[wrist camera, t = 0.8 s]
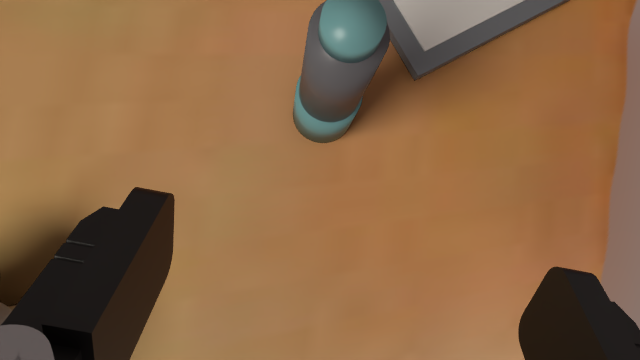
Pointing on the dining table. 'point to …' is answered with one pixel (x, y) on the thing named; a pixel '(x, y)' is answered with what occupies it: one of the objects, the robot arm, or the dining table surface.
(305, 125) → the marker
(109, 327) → the robot arm
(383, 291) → the dining table surface
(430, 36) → the grey flat block
